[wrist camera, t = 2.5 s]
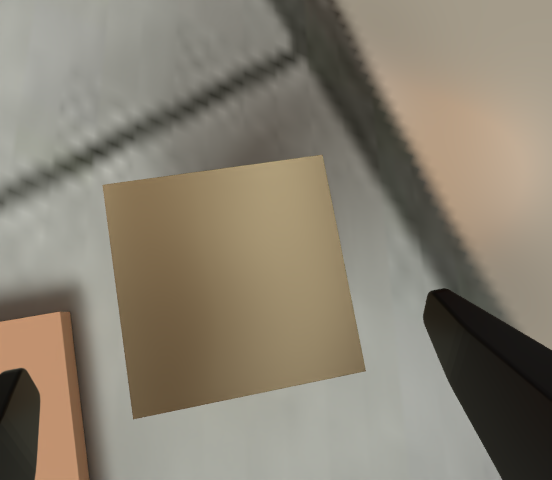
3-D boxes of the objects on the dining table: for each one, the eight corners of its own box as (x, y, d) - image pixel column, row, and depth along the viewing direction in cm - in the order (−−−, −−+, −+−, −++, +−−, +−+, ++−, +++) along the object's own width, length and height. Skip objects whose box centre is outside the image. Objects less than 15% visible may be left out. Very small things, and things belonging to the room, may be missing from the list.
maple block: (275, 231, 21) (322, 154, 11) (295, 343, 20) (365, 370, 10) (161, 248, 20) (102, 185, 10) (178, 366, 19) (133, 419, 9)
